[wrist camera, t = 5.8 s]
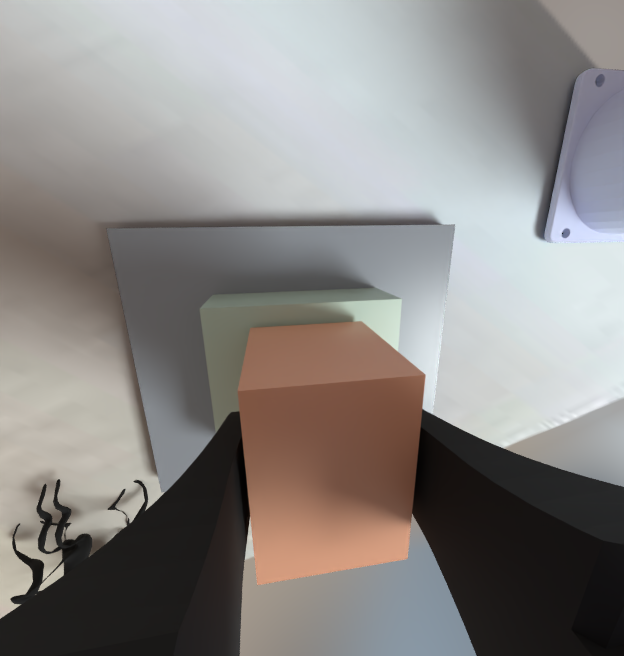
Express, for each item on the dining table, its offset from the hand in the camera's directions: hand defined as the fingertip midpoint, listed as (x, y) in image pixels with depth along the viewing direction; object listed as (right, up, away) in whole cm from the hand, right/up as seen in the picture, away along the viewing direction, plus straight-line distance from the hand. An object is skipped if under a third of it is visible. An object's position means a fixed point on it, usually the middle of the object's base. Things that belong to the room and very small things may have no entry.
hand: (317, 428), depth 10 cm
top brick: (0, +1, +2) cm, 2 cm away
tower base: (-1, +2, +6) cm, 6 cm away
